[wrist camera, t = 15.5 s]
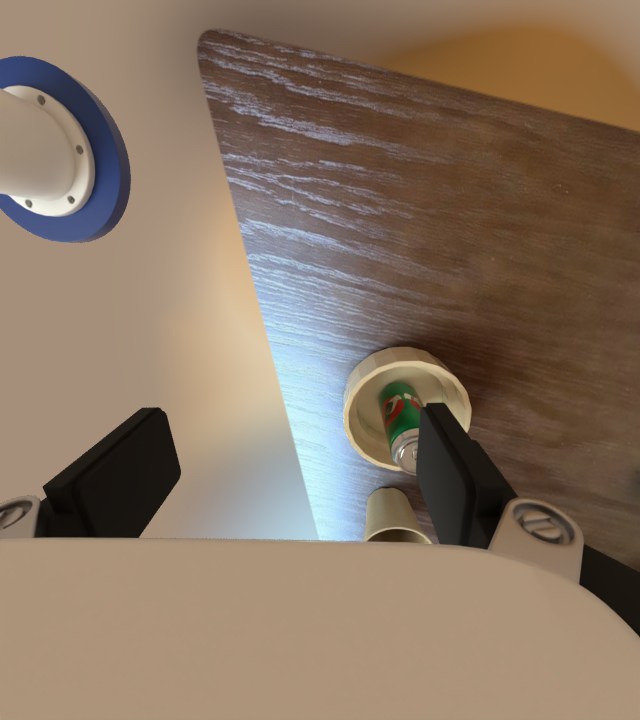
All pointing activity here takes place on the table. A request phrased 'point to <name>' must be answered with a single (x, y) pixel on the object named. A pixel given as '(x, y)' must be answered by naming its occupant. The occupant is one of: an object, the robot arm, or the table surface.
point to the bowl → (382, 371)
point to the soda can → (401, 423)
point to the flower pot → (392, 519)
